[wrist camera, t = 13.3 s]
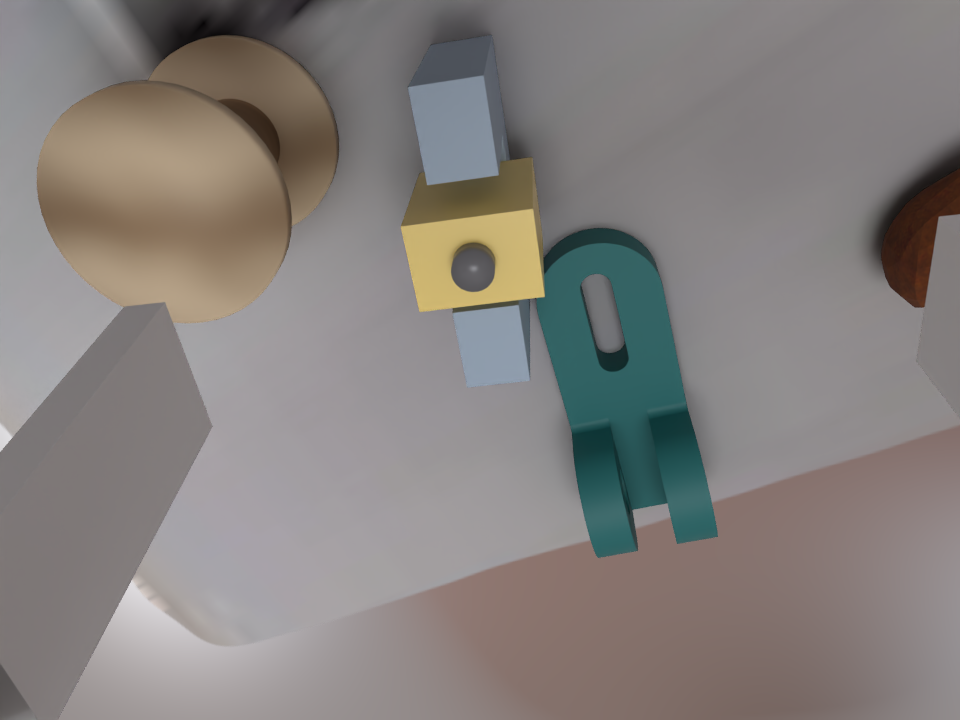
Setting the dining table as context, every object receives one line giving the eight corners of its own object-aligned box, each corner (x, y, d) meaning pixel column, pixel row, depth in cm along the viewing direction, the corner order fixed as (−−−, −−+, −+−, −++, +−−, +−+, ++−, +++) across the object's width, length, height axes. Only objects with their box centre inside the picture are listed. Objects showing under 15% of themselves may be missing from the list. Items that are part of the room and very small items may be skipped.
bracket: (698, 473, 53) (723, 562, 46) (594, 493, 54) (603, 582, 47) (645, 213, 44) (666, 276, 37) (522, 244, 46) (521, 310, 39)
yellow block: (419, 173, 40) (397, 235, 34) (532, 157, 40) (533, 217, 33) (434, 248, 42) (416, 322, 36) (542, 234, 42) (545, 307, 35)
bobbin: (116, 52, 41) (-7, 107, 32) (310, 19, 40) (243, 66, 30) (183, 239, 46) (95, 335, 37) (358, 215, 45) (313, 308, 35)
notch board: (430, 44, 40) (407, 87, 32) (492, 35, 40) (483, 75, 32) (477, 302, 47) (467, 387, 39) (529, 295, 47) (530, 380, 39)
